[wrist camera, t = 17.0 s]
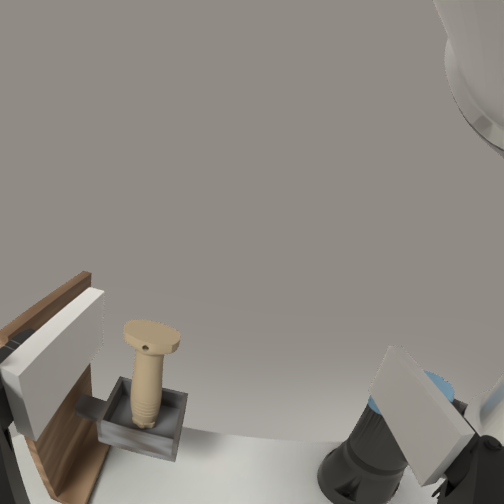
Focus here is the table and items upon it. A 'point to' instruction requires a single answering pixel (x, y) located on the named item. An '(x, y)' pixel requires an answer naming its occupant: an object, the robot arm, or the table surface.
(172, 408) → the bracket
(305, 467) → the table surface
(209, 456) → the table surface
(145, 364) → the handle
